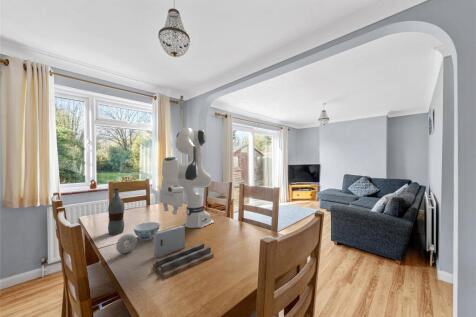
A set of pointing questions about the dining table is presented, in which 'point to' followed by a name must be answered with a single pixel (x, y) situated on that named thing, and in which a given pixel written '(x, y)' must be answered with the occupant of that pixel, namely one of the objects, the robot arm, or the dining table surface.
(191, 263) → the track base
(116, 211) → the bottle
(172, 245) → the door panel
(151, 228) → the chinaware
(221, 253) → the dining table surface
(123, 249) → the donut
